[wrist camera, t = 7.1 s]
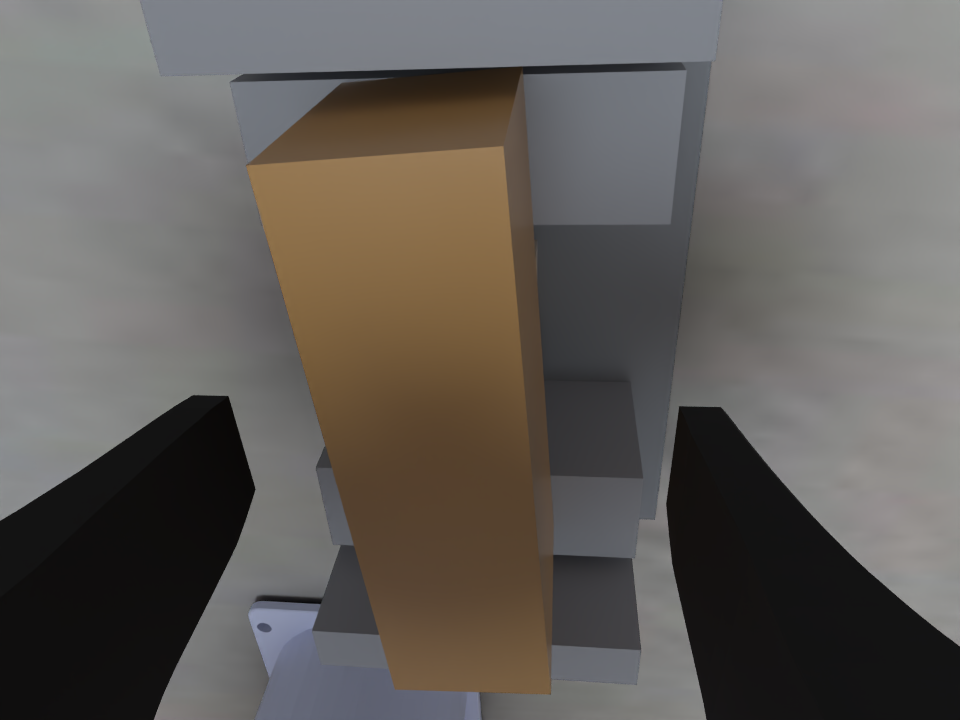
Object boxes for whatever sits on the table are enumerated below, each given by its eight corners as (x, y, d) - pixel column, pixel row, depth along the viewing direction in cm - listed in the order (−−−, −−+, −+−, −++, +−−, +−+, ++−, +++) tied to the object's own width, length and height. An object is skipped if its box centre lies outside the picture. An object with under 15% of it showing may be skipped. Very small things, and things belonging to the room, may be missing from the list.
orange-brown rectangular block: (325, 84, 11) (224, 166, 8) (522, 66, 11) (503, 146, 7) (418, 525, 16) (380, 689, 13) (553, 525, 16) (551, 694, 13)
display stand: (651, 494, 21) (681, 703, 16) (352, 484, 22) (283, 677, 17) (722, -119, 13) (836, -126, 7) (242, -93, 14) (35, -83, 8)
